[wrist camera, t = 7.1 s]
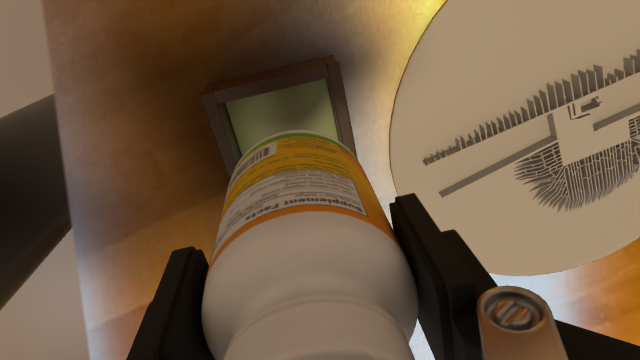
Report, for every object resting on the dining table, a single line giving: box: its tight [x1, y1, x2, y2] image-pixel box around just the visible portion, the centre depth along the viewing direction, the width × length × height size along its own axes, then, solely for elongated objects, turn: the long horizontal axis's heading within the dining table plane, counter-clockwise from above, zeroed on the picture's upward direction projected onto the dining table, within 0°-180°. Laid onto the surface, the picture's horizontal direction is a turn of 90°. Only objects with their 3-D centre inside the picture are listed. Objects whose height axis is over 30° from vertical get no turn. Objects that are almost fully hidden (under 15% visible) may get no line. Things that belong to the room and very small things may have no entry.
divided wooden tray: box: [200, 55, 358, 180], centre depth 29 cm, size 9×16×3 cm, turn 12°
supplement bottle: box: [201, 130, 419, 360], centre depth 12 cm, size 5×5×10 cm
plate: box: [389, 0, 640, 276], centre depth 30 cm, size 28×28×1 cm
